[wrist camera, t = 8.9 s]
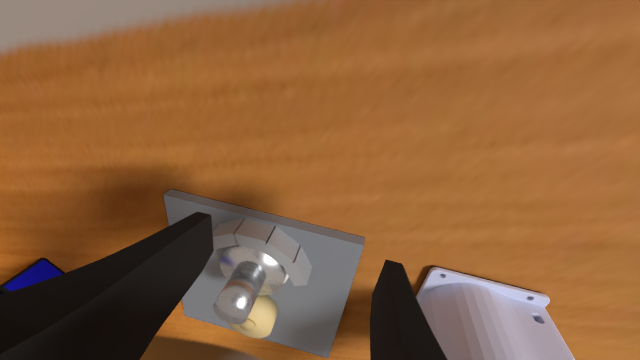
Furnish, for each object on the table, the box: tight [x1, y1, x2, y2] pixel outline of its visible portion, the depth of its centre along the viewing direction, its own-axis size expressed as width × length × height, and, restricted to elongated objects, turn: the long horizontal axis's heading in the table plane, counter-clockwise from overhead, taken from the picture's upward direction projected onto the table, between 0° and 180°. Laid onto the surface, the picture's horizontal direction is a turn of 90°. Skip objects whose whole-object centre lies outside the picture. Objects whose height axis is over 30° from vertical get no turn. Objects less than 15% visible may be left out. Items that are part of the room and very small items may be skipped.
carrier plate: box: [163, 189, 365, 358], centre depth 27 cm, size 18×18×3 cm
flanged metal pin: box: [213, 245, 287, 325], centre depth 23 cm, size 6×6×6 cm
